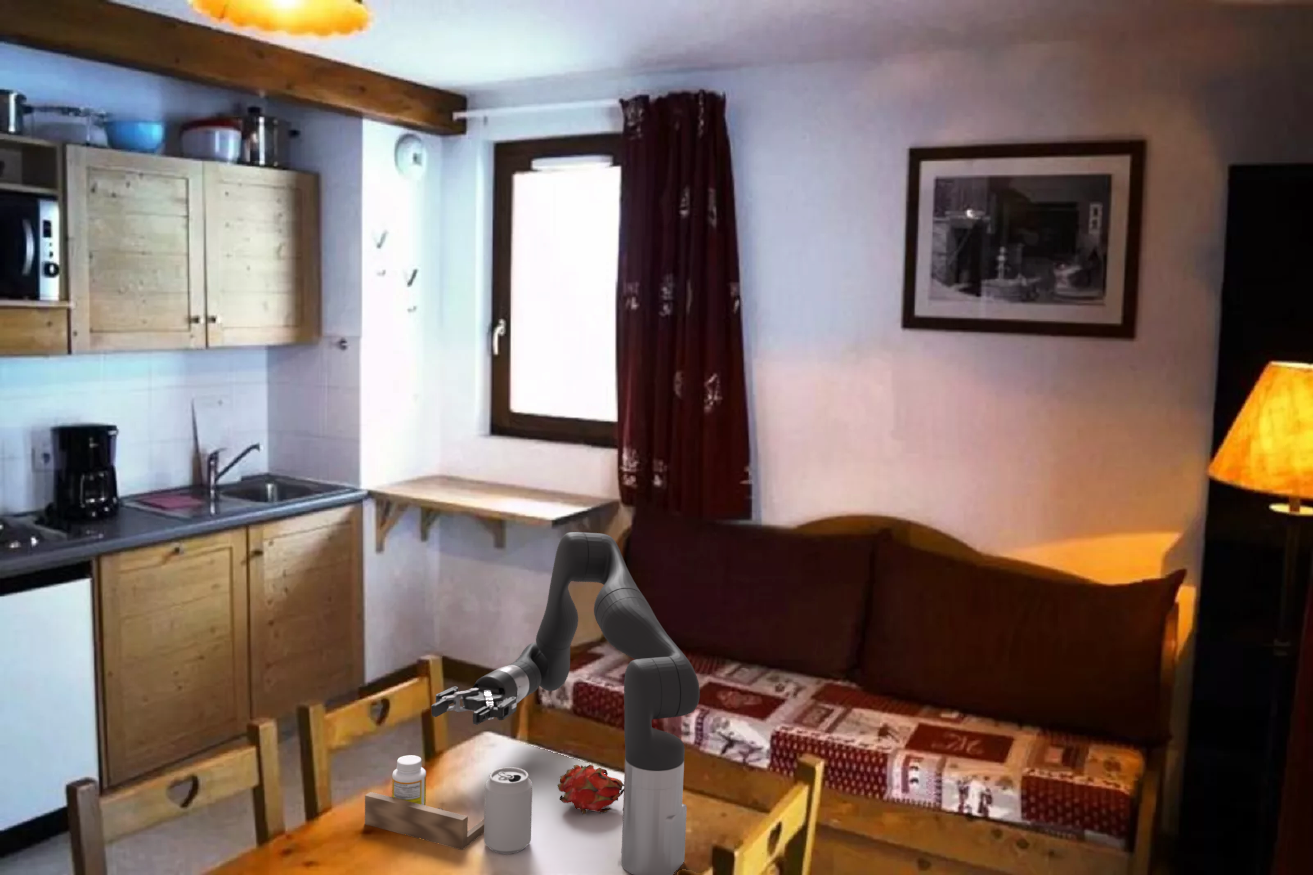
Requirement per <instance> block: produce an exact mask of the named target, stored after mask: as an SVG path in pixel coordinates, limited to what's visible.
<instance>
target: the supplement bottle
mask: <svg viewBox="0 0 1313 875" xmlns="http://www.w3.org/2000/svg"><path fill="white" fill-rule="evenodd" d="M422 765H423V764H422V758H421V757H420V756H418V755H414V754H413V755H411V754H408V755H403V756H400V757H398V759H397V761H396V769H394V770H393V772H392V777H391V784H392V785H391V789H392V790H391V797H393V798H397V799H401V800H405V801H409V802H413V803H417V804H421V805H425V806H427V804H426V803H427V802H426V800H427V794H426V793H427V789H426V788H427V770H426V769H425V768H424V767H422Z"/></svg>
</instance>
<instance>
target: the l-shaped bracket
mask: <svg viewBox="0 0 1313 875" xmlns="http://www.w3.org/2000/svg"><path fill="white" fill-rule="evenodd" d="M468 818H469V817H468V815H464V814H460V813H457V812H452V811H448V810H444V808H441V807H437V808H435V807H433V806H428V805H426V806H425V805H421V804H417V803H413V802H409V801H405V800H401V799H397V798H393V797H392V796H389V795H385V794H381V793H376V792H373V791H370V792H367V793H366V794H365V795H364V825H366V826H371V827H374V828H378V829H382V830H385V831H389V832H394V833H397V834H400V835H404V834H406V835H405V836H407V835H408V837H411V836H412V838H415V839H419V838H421V839H420V840H422V839H424V841H427V842H431V843H435V844H437V843H439V844H438V845H442V846H446V847H450V848H452V849H457V850H460V851H463V850H464V849H465V848H466V847H468V846H469V845H470V844H472V843H473V842H475V841H476V840H477V839H478V838H479V837H481V836H482V835H484V819H482V820H481V821H480V822H478V823H477V824H475V825H474V826H473V827H472V828H470V829H469V828H468V826H469V825H468V824H469V821H468ZM468 829H469V830H468Z"/></svg>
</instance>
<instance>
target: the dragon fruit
mask: <svg viewBox="0 0 1313 875" xmlns="http://www.w3.org/2000/svg"><path fill="white" fill-rule="evenodd" d="M608 774H609V773H608V771H607V769H604V768H602V767H598V768H595V767H594V765H593V764H589V765H587V766H586V765H584V766H583V765H582V764H580V765H579V764H574V765H573V768H571V769H570V768H569V769H567V770H566V771H565V773H564V774H562V775H560V777H559V783H558V784H557V789H558V790H559V792H561V793H564V795H563V794H561V795H560V796H559V801H560V802H562V803H564V804H570V803H571V804H573V807H574V809H575V810H579V811H580V813H581V814H582V815H586V814H587V812H588V811H592V812H597V813H600V814H605V813H608V812H609V811H611V810H612V808H611V807H608V806H612V804H614V802H616V801H617V802H618V801H619V797H621V796H622V795H623V794H624V788H623V787H624V782H623V781H622V780H620V779H619V778H617V777H611V776H609V775H608Z"/></svg>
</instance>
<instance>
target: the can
mask: <svg viewBox="0 0 1313 875" xmlns="http://www.w3.org/2000/svg"><path fill="white" fill-rule="evenodd" d="M529 777H530V776H529V773H528V771H526V770H525V769H524V768H523V769H522V768H520V767H515V766H514V767H513V766H511V767H510V766H507V767H500V768H496V769H494V770H493V771H491V772H490V773H489V778H488V779H487V780H486V782H485V784H484V814H483V815H484V833H483V842H484V845H486V846H487V847H488V848H489V849H490V850H491V851H492V852H494V853H496V854H501V855H510V854H512V855H513V854H516V853H519V852H522V851H523V850H524V849H525V848H526V847H527V846H528V845H529V844H530V843H531V839H532V816H533V814H532V811H533V810H532V809H533V808H532V807H533V806H532V804H533V782H532V780H531V779H530V778H529Z"/></svg>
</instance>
